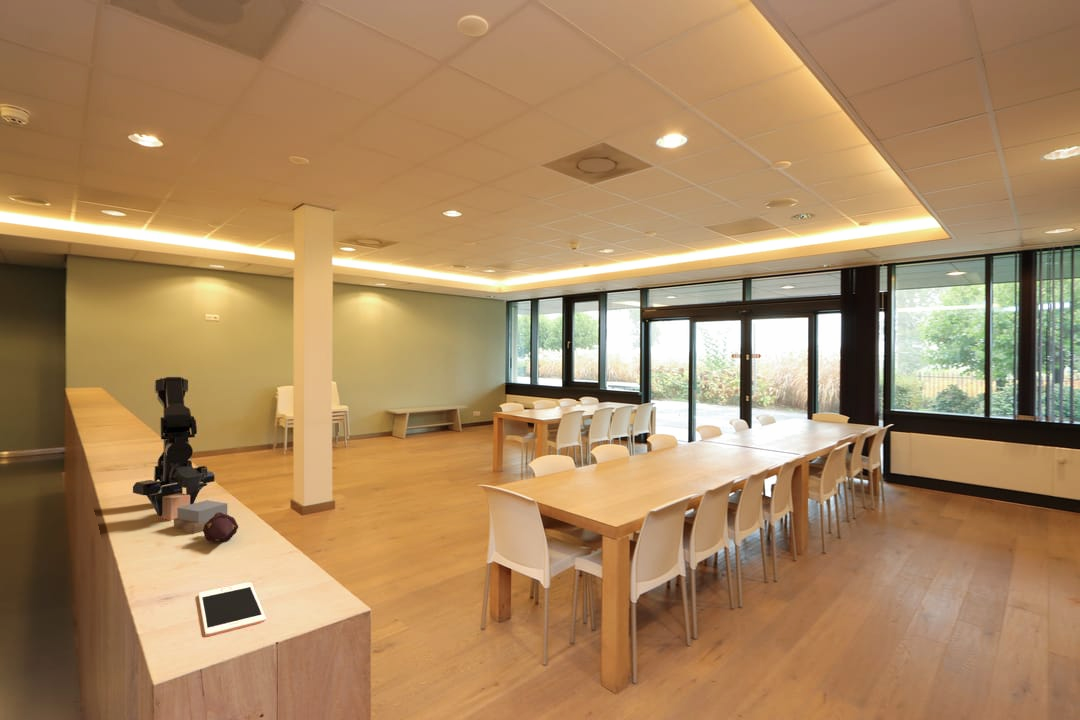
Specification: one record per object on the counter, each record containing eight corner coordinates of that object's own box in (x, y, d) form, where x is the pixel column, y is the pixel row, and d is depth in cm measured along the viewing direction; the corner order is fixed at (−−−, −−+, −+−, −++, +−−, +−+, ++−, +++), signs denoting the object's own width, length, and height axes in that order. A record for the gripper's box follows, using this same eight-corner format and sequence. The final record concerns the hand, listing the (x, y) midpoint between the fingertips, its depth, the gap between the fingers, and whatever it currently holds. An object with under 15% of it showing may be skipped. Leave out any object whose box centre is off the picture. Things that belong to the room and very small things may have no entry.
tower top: (177, 519, 135) (177, 507, 135) (206, 510, 143) (206, 500, 143) (198, 523, 133) (198, 511, 133) (227, 514, 140) (227, 503, 140)
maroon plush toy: (246, 519, 124) (235, 510, 135) (211, 517, 119) (203, 508, 131) (238, 550, 122) (228, 538, 134) (202, 548, 118) (195, 536, 129)
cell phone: (251, 586, 103) (251, 581, 103) (266, 624, 89) (266, 618, 89) (198, 597, 98) (198, 592, 98) (205, 639, 83) (205, 634, 83)
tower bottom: (173, 530, 136) (173, 518, 136) (208, 520, 144) (208, 510, 144) (194, 535, 132) (194, 524, 132) (228, 525, 140) (229, 514, 140)
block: (160, 518, 144) (160, 496, 144) (179, 513, 148) (179, 492, 148) (170, 521, 141) (171, 499, 141) (189, 516, 146) (190, 495, 146)
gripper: (156, 466, 133) (154, 526, 133) (227, 454, 150) (226, 508, 150) (132, 461, 138) (130, 520, 138) (203, 451, 154) (202, 503, 154)
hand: (175, 512), depth 145 cm, fingers open, 7 cm apart
